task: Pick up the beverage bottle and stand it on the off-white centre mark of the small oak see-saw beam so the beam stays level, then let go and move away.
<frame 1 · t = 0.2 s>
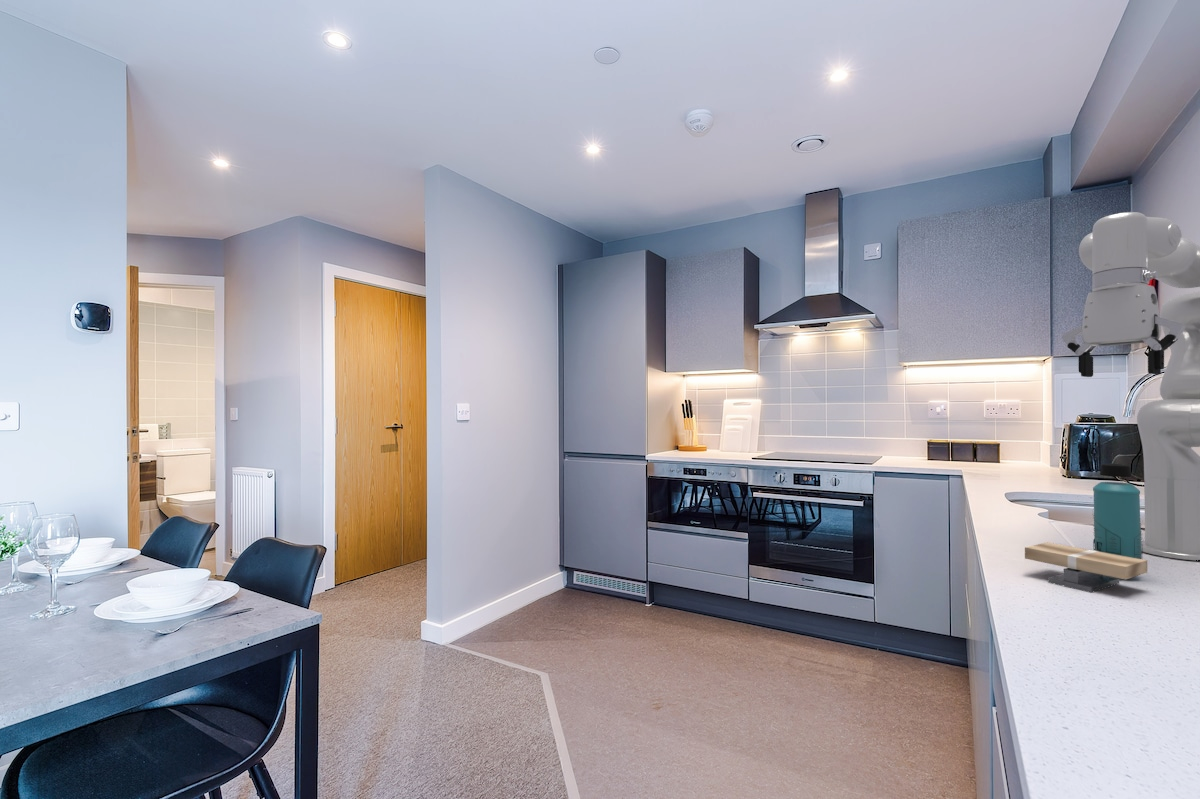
hand: (1119, 375, 104), 36 cm above the countertop, tool pointing down, fingers open, 9 cm apart
beam: (1083, 559, 97), point 4 cm above the countertop, hinge at 0.0°
fulcrum: (1083, 582, 97), on the countertop
beverage bottle: (1117, 577, 101), on the countertop
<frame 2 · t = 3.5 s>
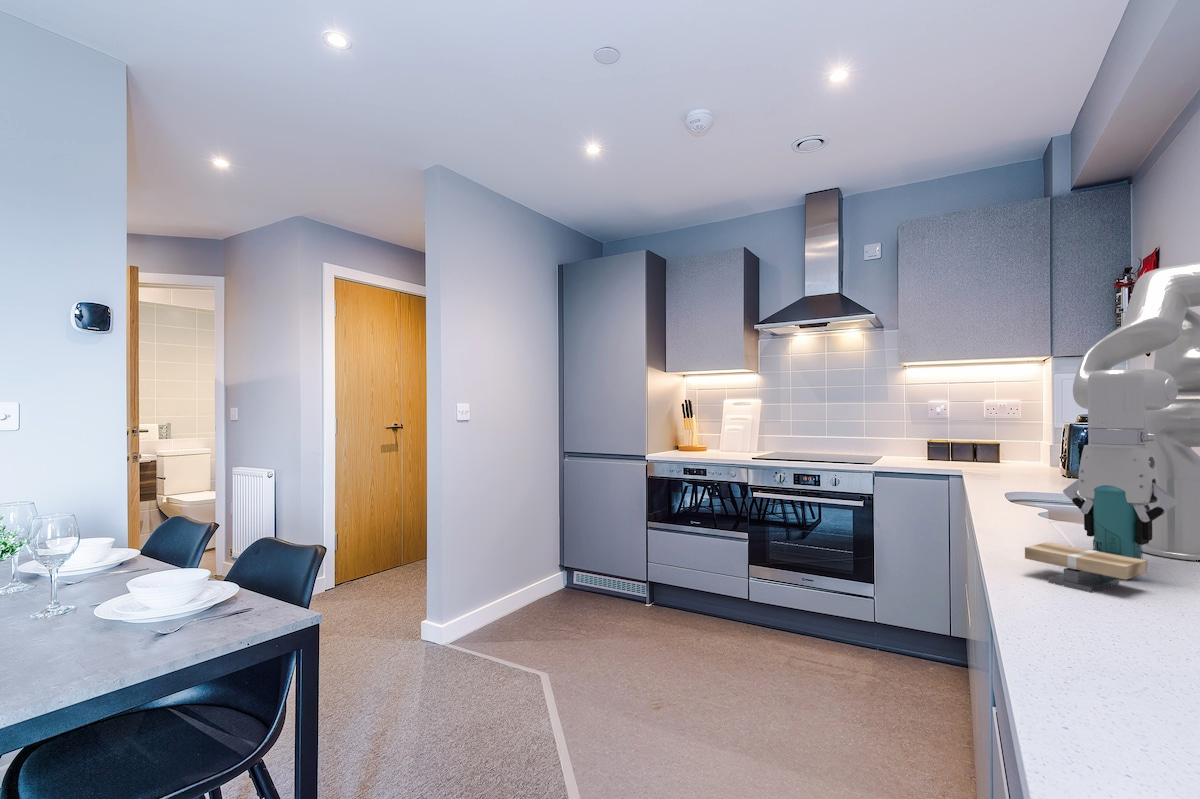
hand: (1117, 538, 101), 7 cm above the countertop, tool pointing down, fingers closed on beverage bottle, 6 cm apart
beverage bottle: (1117, 577, 101), on the countertop, touching gripper
everything else where it was.
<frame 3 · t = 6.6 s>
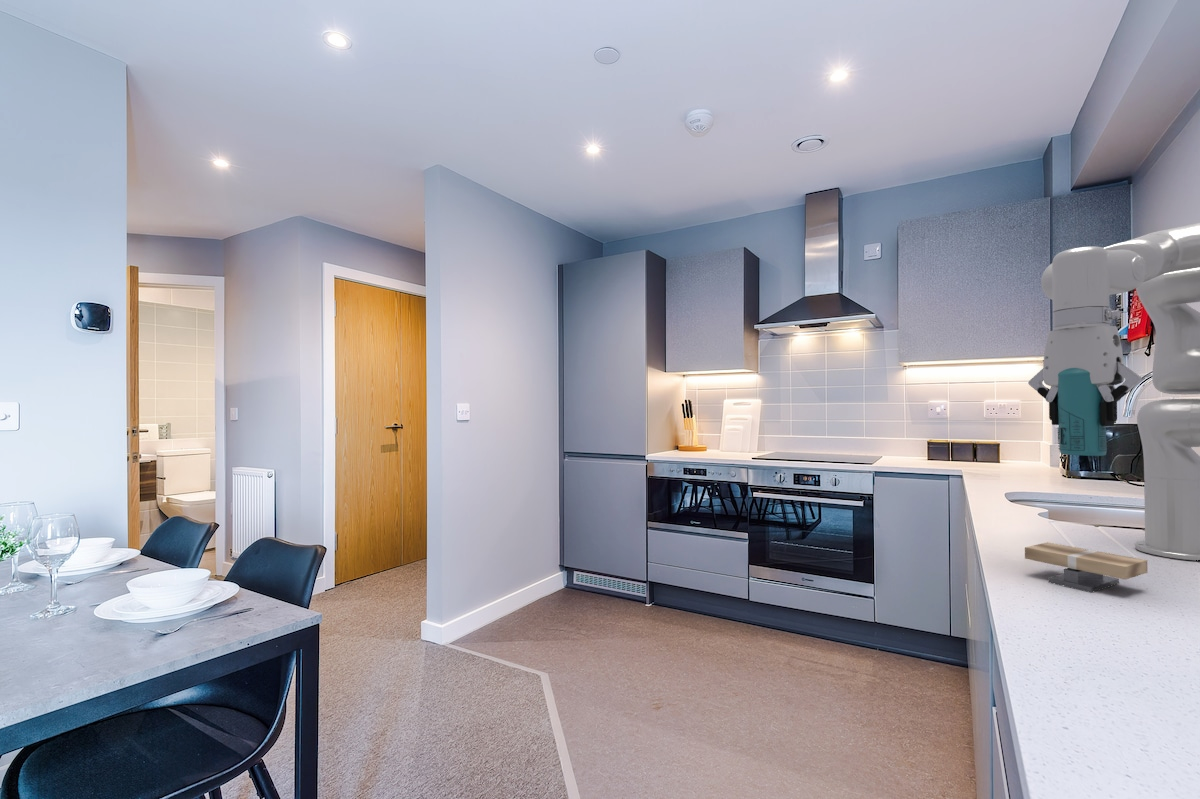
hand: (1082, 424, 97), 27 cm above the countertop, tool pointing down, fingers closed on beverage bottle, 6 cm apart
beverage bottle: (1082, 463, 97), point 20 cm above the countertop, touching gripper
everything else where it was.
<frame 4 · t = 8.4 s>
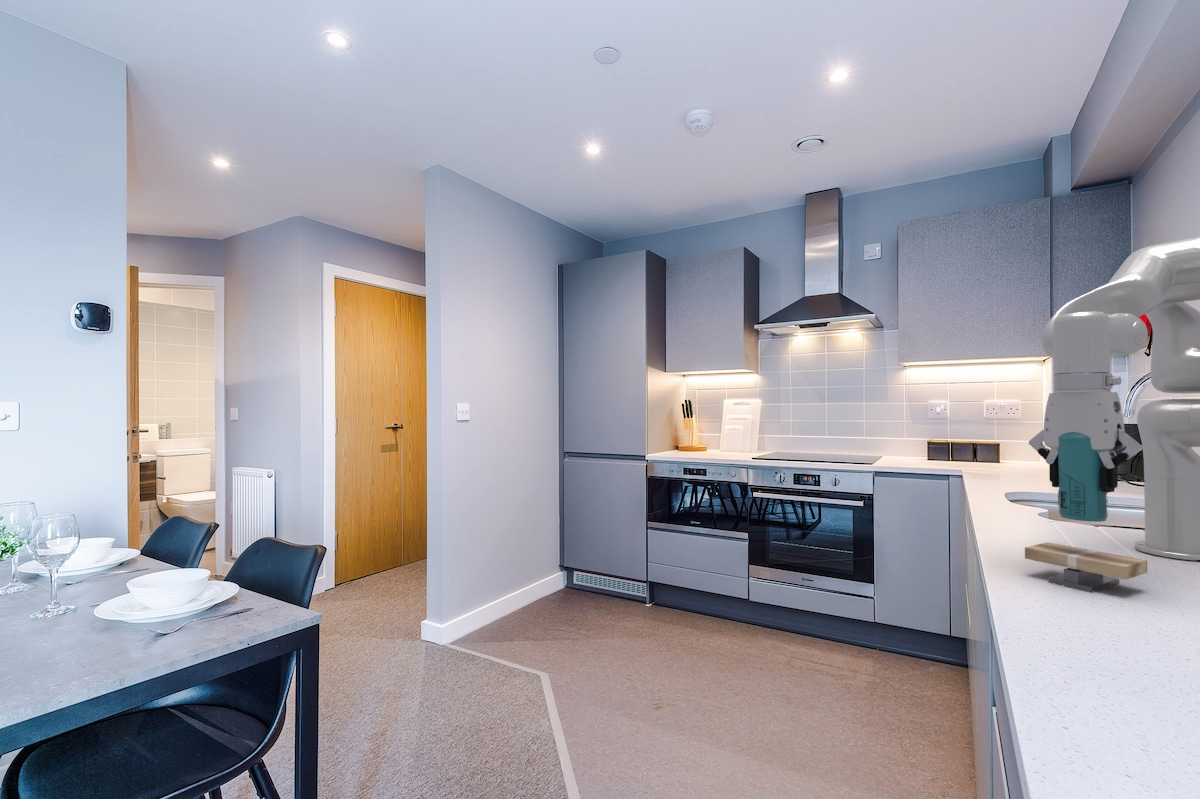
hand: (1082, 488, 97), 16 cm above the countertop, tool pointing down, fingers closed on beverage bottle, 6 cm apart
beverage bottle: (1082, 527, 97), point 9 cm above the countertop, touching gripper
everything else where it was.
when the fingers open (13 cm above the countertop, at t = 9.6 s): beverage bottle drops 1 cm, resting on beam.
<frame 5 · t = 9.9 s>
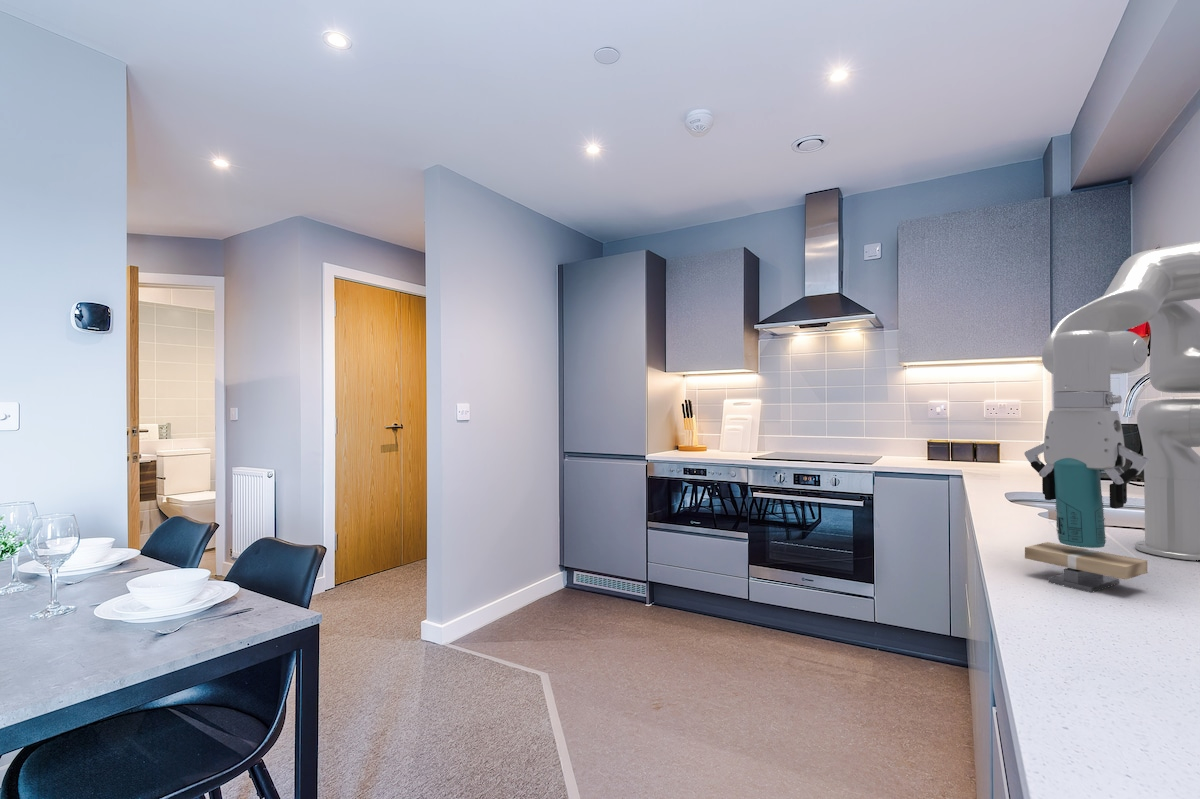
hand: (1082, 503, 97), 14 cm above the countertop, tool pointing down, fingers open, 8 cm apart
beam: (1083, 559, 97), point 4 cm above the countertop, hinge at -0.3°, touching beverage bottle
beverage bottle: (1081, 553, 98), point 5 cm above the countertop, touching beam
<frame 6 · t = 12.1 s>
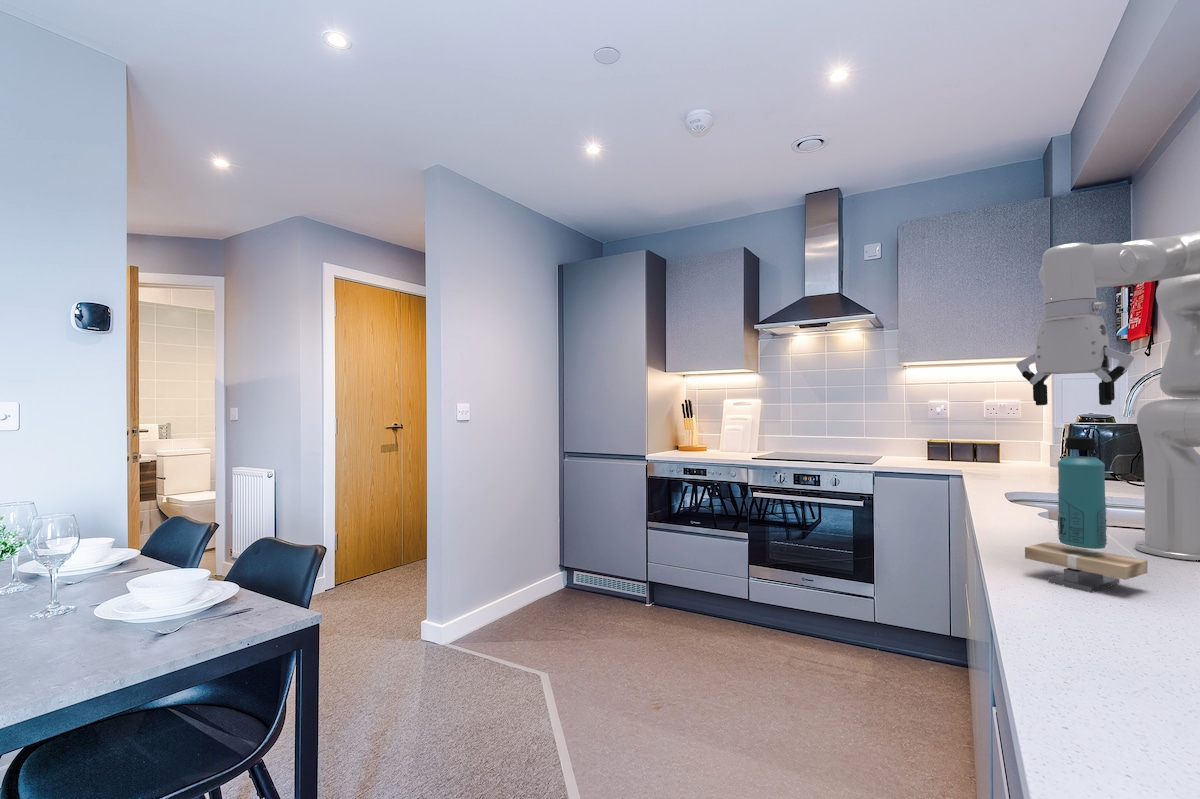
hand: (1072, 405, 105), 31 cm above the countertop, tool pointing down, fingers open, 9 cm apart
nothing on the countertop moved.
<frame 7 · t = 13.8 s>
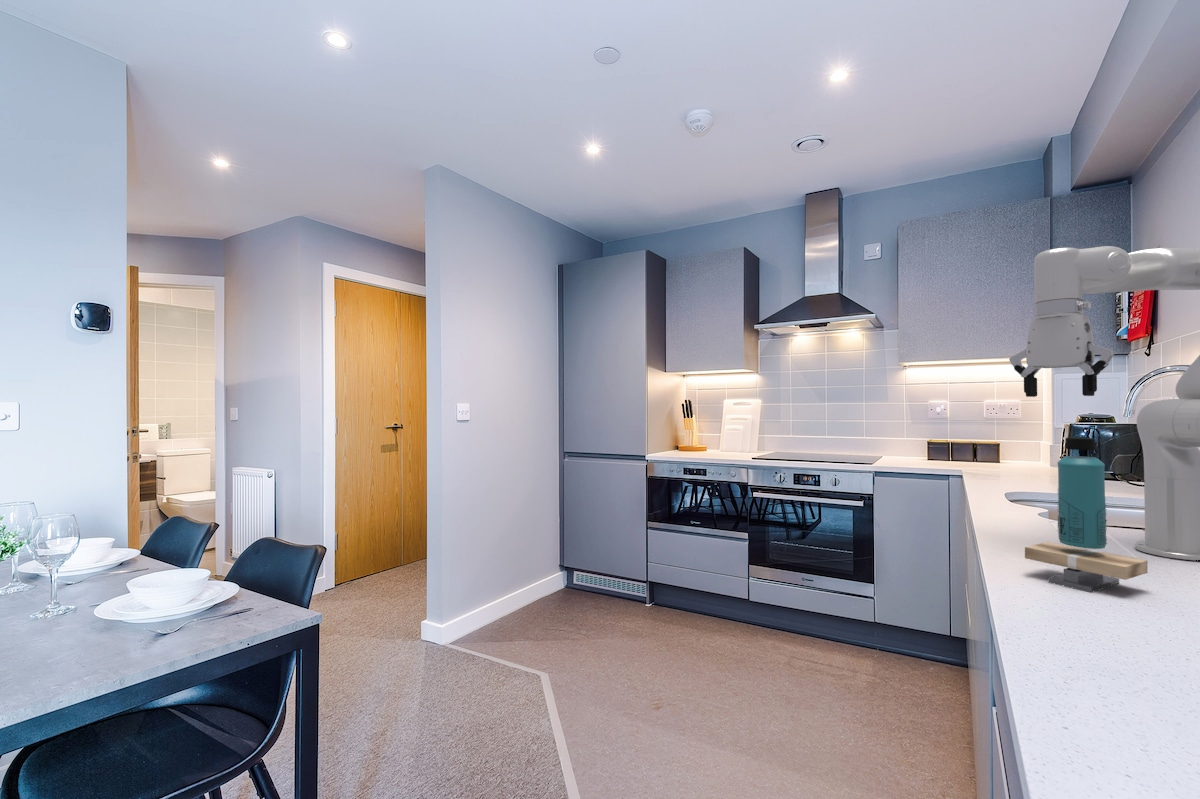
hand: (1058, 396, 114), 32 cm above the countertop, tool pointing down, fingers open, 9 cm apart
nothing on the countertop moved.
at the end: beverage bottle inside the target area on the beam (0.5 cm from its centre), point 0.8 cm above the beam's base; beam at +0° (first picture: +0°); beverage bottle tilted 0° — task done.
